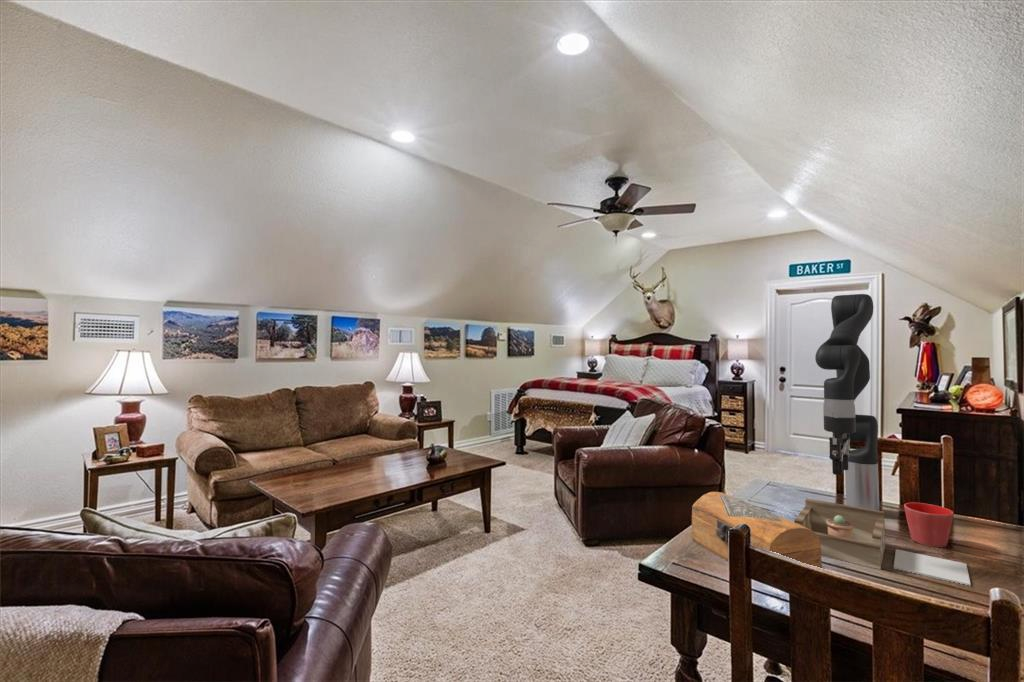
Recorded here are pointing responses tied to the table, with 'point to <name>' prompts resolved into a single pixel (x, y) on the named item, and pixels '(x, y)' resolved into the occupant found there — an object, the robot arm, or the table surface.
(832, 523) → the seedling pot
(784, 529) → the wooden box
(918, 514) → the flower pot
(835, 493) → the table surface
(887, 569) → the table surface
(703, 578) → the table surface
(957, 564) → the grey mat
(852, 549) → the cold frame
